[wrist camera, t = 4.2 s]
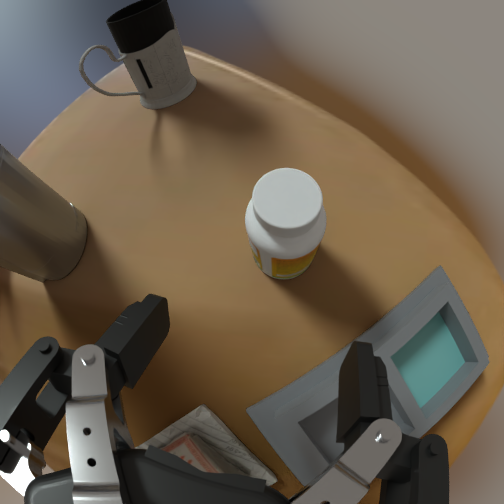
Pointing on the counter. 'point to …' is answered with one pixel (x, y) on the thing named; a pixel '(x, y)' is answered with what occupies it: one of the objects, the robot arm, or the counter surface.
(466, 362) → the divided tray
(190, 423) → the packaged product
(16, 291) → the counter surface
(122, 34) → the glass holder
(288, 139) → the counter surface
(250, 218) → the supplement bottle
